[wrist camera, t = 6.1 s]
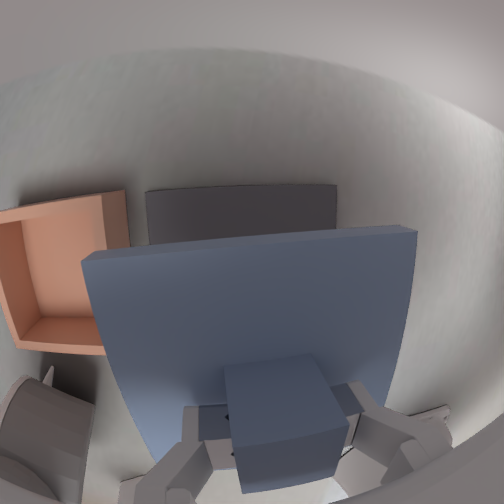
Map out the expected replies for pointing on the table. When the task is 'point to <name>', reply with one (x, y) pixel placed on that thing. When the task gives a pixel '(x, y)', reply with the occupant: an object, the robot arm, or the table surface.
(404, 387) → the table surface
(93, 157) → the table surface
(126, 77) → the table surface
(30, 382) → the alarm clock
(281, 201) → the mat
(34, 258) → the dish
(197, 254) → the lid
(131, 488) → the milk
